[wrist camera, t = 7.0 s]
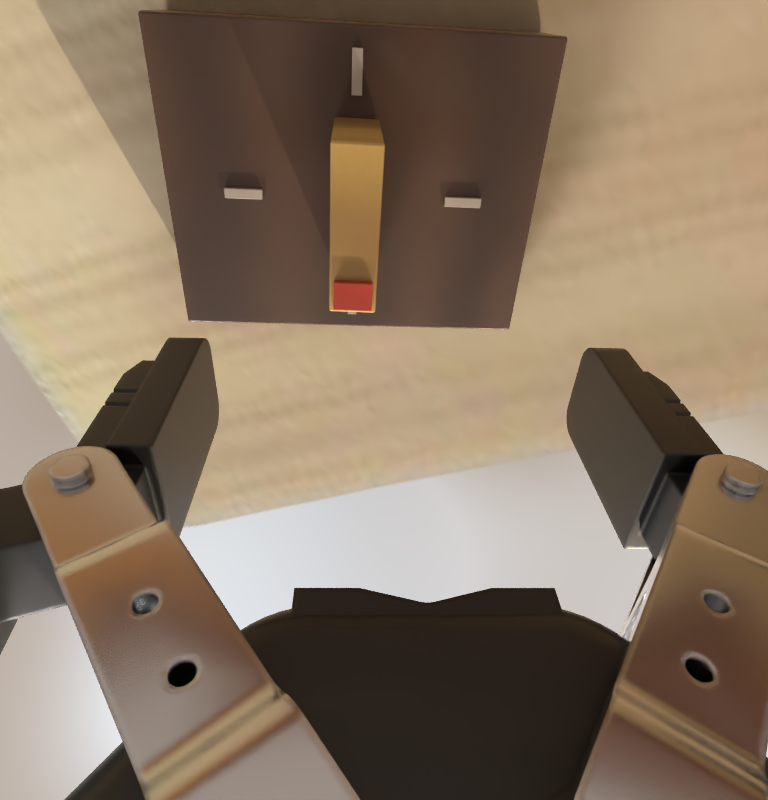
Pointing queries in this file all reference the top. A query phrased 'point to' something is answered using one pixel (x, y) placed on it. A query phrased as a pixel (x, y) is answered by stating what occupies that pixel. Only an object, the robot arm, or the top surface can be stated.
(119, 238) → the top surface
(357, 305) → the red-tipped tan block
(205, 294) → the lock plate
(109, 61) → the top surface
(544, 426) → the top surface
